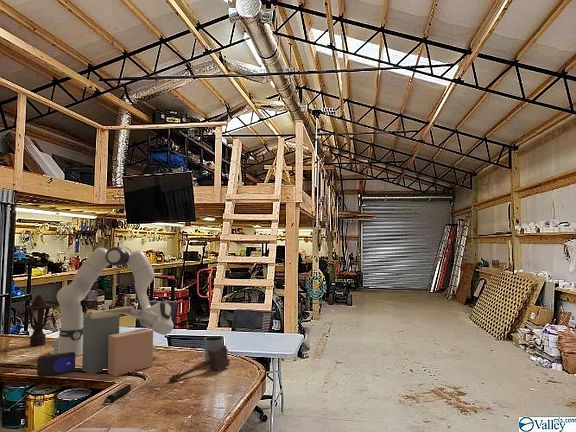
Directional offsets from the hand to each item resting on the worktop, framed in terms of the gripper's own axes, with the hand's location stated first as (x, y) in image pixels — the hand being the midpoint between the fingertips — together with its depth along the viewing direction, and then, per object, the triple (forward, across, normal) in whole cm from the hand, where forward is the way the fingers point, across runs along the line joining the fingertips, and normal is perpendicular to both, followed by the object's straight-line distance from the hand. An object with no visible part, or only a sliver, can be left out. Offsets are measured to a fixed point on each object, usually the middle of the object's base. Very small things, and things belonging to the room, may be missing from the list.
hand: (128, 308), depth 227 cm
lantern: (-1, -76, +32) cm, 83 cm away
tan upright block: (-9, +13, +27) cm, 31 cm away
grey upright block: (-2, 0, +31) cm, 31 cm away
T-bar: (+6, 0, +6) cm, 8 cm away
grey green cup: (-41, +32, +9) cm, 53 cm away
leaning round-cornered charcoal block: (+13, -10, +40) cm, 43 cm away
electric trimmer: (+10, +42, +38) cm, 58 cm away
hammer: (-25, +44, +18) cm, 54 cm away
